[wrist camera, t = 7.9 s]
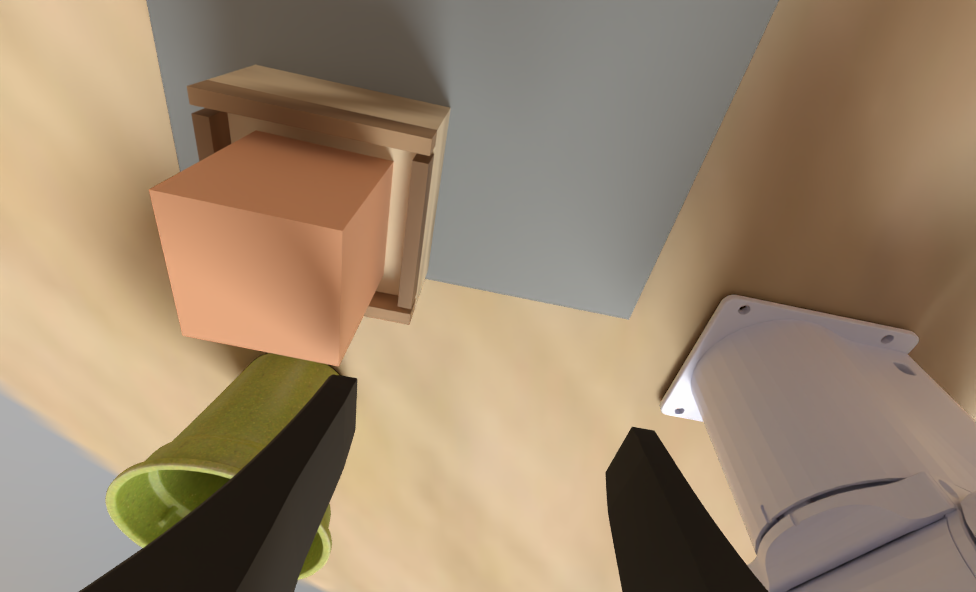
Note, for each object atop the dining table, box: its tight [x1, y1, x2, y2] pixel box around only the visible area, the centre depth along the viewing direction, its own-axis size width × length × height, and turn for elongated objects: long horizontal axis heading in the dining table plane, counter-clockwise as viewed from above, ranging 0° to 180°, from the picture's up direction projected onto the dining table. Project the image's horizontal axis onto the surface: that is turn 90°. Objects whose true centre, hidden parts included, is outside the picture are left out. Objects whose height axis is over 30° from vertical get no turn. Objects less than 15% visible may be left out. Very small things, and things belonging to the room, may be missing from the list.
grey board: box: [146, 0, 779, 319], centre depth 16 cm, size 20×18×1 cm
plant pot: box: [105, 353, 339, 580], centre depth 23 cm, size 9×9×9 cm
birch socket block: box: [187, 65, 451, 325], centre depth 17 cm, size 7×7×4 cm
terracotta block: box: [149, 130, 394, 366], centre depth 14 cm, size 4×4×5 cm
